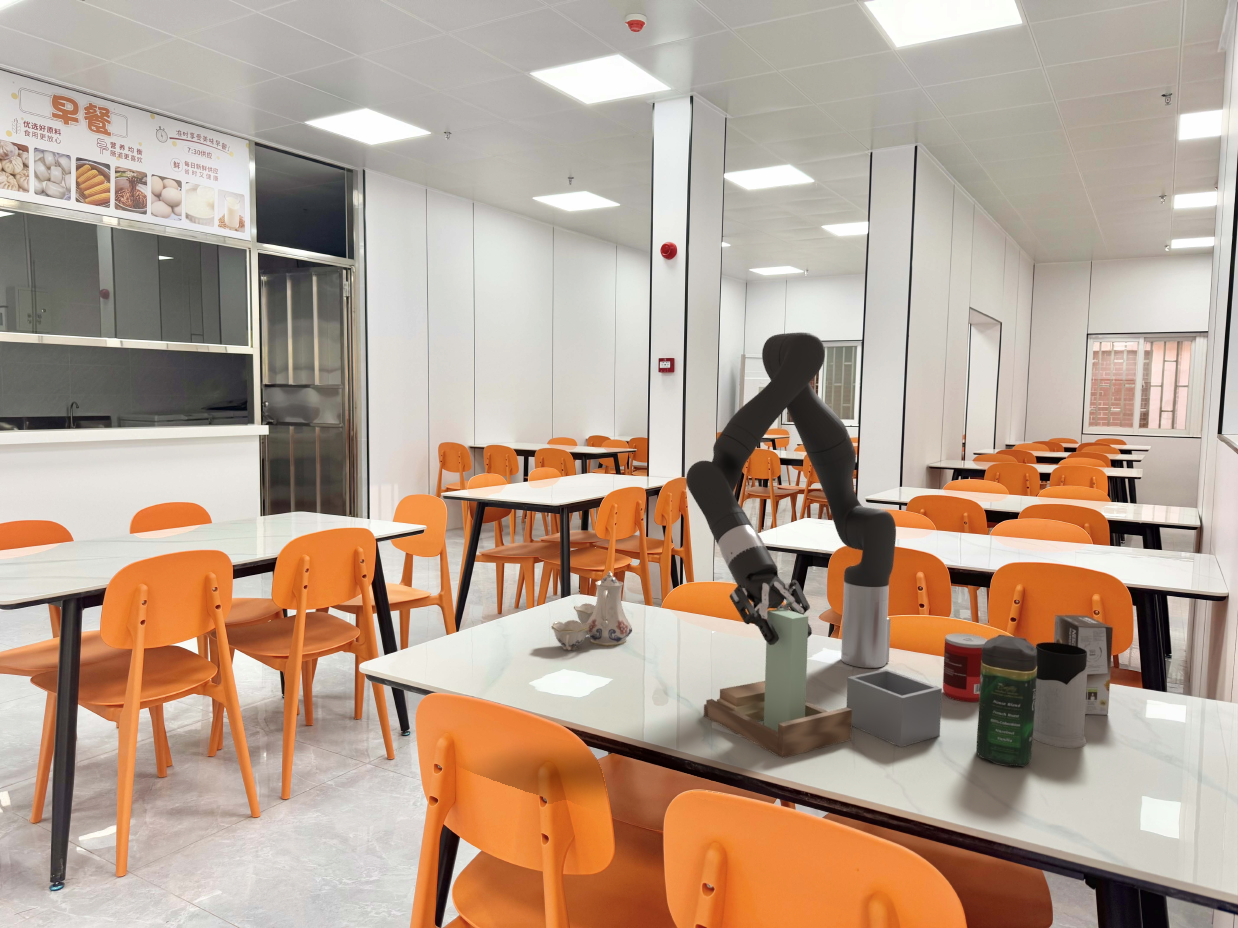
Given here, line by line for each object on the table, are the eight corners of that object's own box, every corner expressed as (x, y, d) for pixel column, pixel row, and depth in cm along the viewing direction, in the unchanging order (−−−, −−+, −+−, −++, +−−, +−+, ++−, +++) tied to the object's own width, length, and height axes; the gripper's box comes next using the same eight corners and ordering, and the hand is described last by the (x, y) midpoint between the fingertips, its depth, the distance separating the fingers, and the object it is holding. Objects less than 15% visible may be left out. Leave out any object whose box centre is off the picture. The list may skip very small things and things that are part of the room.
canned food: (986, 692, 159) (989, 636, 158) (985, 705, 151) (988, 646, 151) (943, 685, 162) (946, 630, 161) (941, 698, 155) (943, 640, 154)
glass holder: (1078, 752, 131) (1083, 659, 130) (986, 727, 140) (990, 641, 139) (1092, 736, 137) (1097, 648, 136) (1003, 714, 147) (1007, 631, 146)
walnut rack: (768, 701, 151) (769, 674, 151) (850, 739, 134) (851, 709, 134) (703, 715, 144) (704, 687, 143) (782, 757, 126) (783, 726, 126)
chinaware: (575, 628, 206) (569, 563, 205) (640, 625, 203) (635, 559, 202) (548, 662, 178) (542, 586, 177) (624, 658, 176) (618, 581, 175)
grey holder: (884, 713, 146) (886, 668, 146) (939, 735, 136) (941, 688, 136) (845, 722, 141) (847, 677, 141) (900, 746, 131) (902, 697, 131)
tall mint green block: (779, 723, 140) (783, 608, 139) (804, 735, 135) (808, 616, 134) (763, 727, 139) (767, 610, 137) (788, 739, 133) (792, 618, 132)
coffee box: (1110, 715, 147) (1115, 627, 146) (1074, 714, 147) (1078, 626, 146) (1083, 697, 156) (1087, 614, 155) (1049, 696, 157) (1053, 613, 156)
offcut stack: (766, 704, 149) (767, 678, 149) (786, 714, 145) (787, 687, 144) (715, 716, 143) (715, 689, 143) (734, 726, 139) (735, 698, 138)
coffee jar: (1030, 772, 123) (1036, 650, 122) (973, 760, 127) (978, 642, 125) (1034, 750, 131) (1040, 635, 130) (980, 739, 135) (985, 628, 134)
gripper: (724, 547, 138) (769, 632, 129) (788, 541, 146) (835, 622, 136) (704, 572, 143) (746, 657, 134) (767, 566, 150) (811, 645, 141)
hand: (791, 639), depth 135 cm, fingers open, 6 cm apart
